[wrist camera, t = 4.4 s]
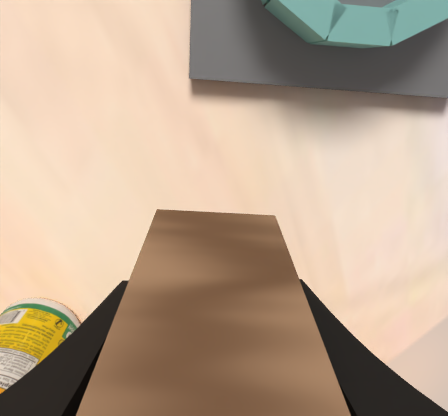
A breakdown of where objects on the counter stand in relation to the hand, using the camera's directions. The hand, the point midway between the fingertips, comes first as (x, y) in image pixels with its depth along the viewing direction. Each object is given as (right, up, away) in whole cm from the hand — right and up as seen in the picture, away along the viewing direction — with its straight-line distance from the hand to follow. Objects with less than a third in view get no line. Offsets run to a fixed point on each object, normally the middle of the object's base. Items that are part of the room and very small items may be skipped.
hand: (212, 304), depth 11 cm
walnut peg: (0, +1, +2) cm, 2 cm away
